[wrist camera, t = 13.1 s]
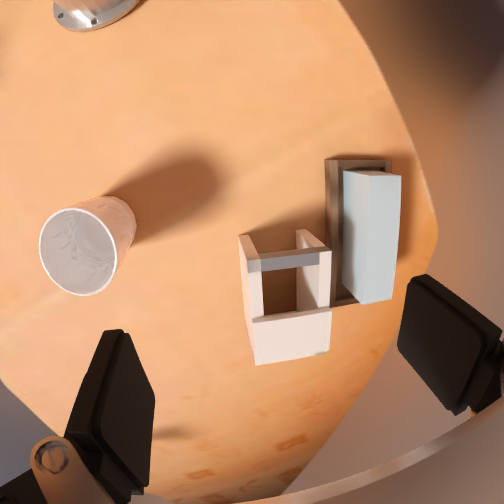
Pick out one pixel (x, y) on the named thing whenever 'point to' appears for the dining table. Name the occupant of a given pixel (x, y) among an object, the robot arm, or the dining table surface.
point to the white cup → (87, 244)
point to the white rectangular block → (370, 233)
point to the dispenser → (308, 300)
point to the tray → (341, 219)
